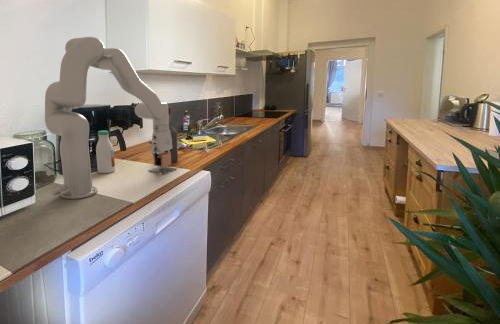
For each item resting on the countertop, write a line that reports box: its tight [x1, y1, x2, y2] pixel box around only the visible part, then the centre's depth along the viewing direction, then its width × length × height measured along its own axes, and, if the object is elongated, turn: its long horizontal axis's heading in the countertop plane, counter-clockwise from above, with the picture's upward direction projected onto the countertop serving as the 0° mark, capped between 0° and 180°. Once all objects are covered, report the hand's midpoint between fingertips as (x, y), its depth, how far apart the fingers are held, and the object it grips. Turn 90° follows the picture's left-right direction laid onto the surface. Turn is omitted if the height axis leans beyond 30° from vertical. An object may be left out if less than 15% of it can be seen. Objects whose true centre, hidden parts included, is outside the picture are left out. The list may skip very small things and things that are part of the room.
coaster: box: [147, 166, 177, 175], centre depth 155 cm, size 10×10×1 cm
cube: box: [152, 152, 172, 167], centre depth 154 cm, size 6×6×6 cm
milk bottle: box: [95, 130, 116, 174], centre depth 148 cm, size 8×8×20 cm
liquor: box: [168, 107, 179, 164], centre depth 171 cm, size 9×9×30 cm
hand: (162, 163), depth 155 cm, fingers closed on cube, 6 cm apart
